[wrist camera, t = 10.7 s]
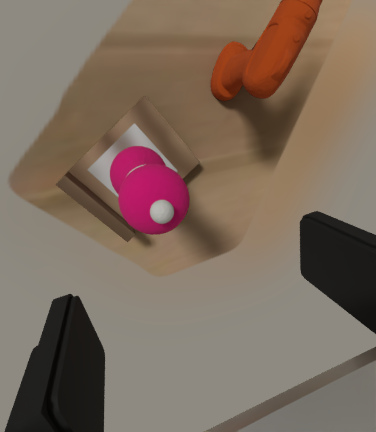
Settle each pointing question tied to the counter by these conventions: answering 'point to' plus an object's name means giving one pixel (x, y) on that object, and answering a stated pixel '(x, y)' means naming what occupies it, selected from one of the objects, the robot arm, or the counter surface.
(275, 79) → the toy drill
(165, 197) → the pepper mill
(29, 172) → the counter surface
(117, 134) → the brown picture frame
